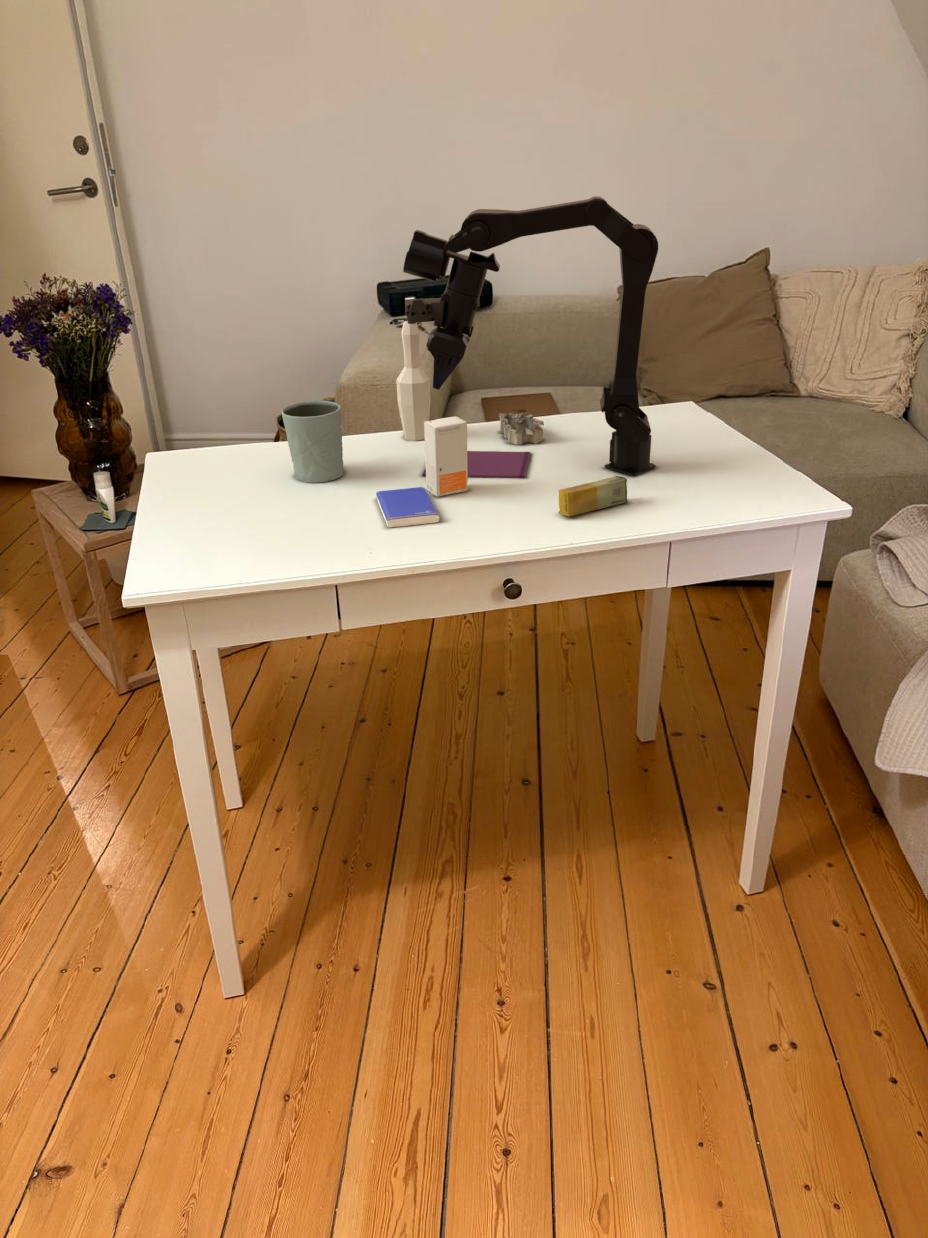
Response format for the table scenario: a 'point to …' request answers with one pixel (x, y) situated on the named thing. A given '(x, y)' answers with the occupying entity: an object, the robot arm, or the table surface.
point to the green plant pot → (315, 440)
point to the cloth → (496, 464)
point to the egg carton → (521, 428)
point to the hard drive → (407, 507)
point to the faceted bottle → (413, 387)
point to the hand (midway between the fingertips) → (438, 381)
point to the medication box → (592, 496)
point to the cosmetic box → (446, 456)
